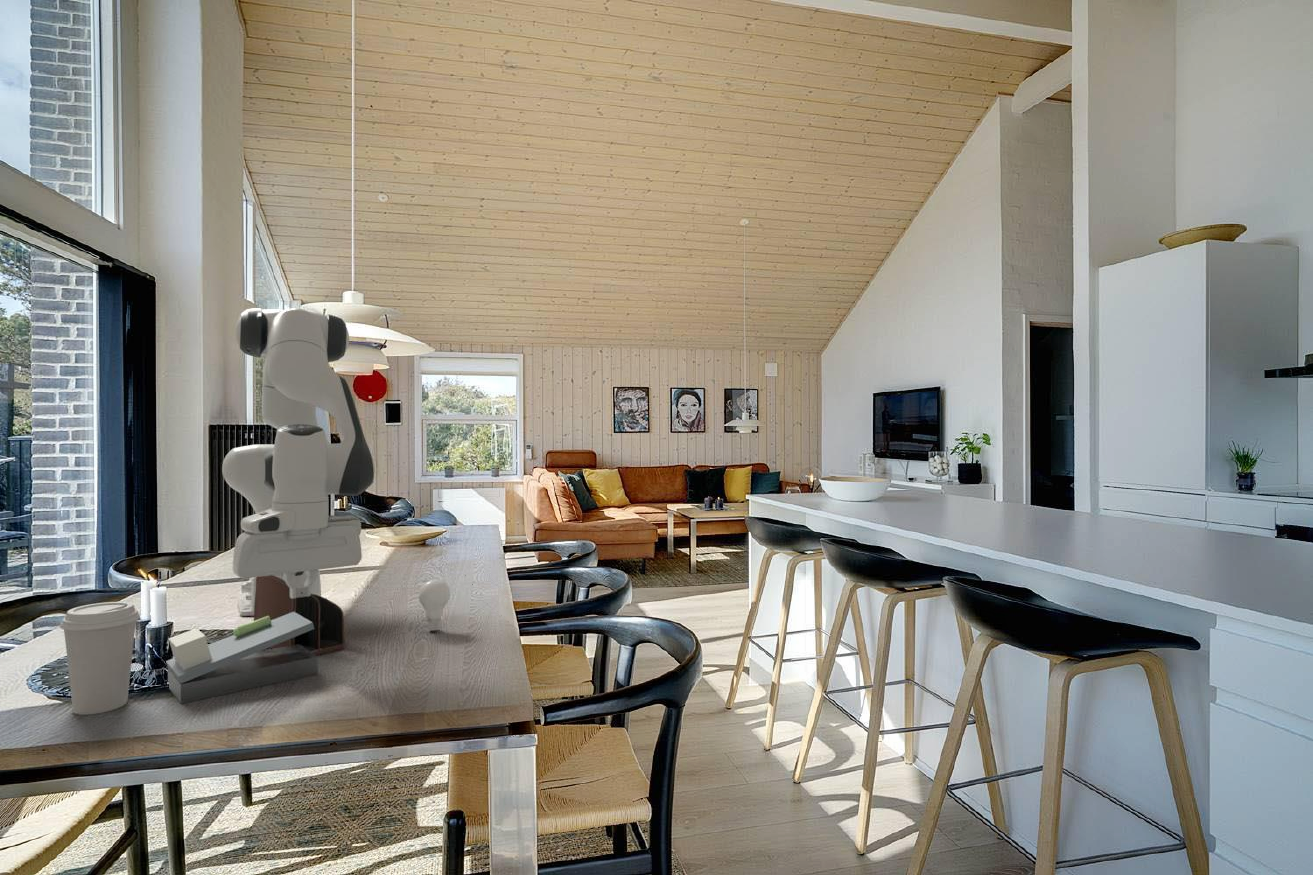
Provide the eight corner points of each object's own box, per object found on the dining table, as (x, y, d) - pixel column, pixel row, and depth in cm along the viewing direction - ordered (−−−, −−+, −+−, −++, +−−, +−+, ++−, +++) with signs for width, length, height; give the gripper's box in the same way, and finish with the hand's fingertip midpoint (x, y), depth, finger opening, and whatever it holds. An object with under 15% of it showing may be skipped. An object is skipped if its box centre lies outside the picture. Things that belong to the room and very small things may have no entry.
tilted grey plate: (167, 667, 115) (158, 638, 114) (295, 617, 129) (288, 591, 128) (180, 683, 108) (171, 652, 107) (314, 628, 122) (306, 600, 121)
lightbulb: (411, 633, 147) (412, 581, 147) (432, 626, 153) (432, 575, 153) (436, 637, 145) (436, 583, 145) (456, 629, 151) (456, 577, 150)
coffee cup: (74, 724, 100) (75, 619, 100) (48, 709, 105) (49, 609, 105) (151, 702, 108) (151, 605, 108) (123, 690, 114) (123, 597, 113)
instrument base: (167, 686, 115) (167, 668, 115) (298, 660, 129) (298, 643, 129) (180, 703, 108) (180, 684, 108) (317, 673, 122) (317, 656, 122)
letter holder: (290, 661, 129) (291, 585, 129) (252, 639, 142) (252, 570, 142) (345, 649, 136) (345, 577, 136) (304, 630, 150) (304, 563, 150)
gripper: (354, 512, 132) (353, 585, 132) (230, 520, 118) (229, 602, 118) (367, 514, 128) (367, 591, 128) (240, 524, 113) (239, 609, 114)
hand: (300, 596), depth 123 cm, fingers closed
